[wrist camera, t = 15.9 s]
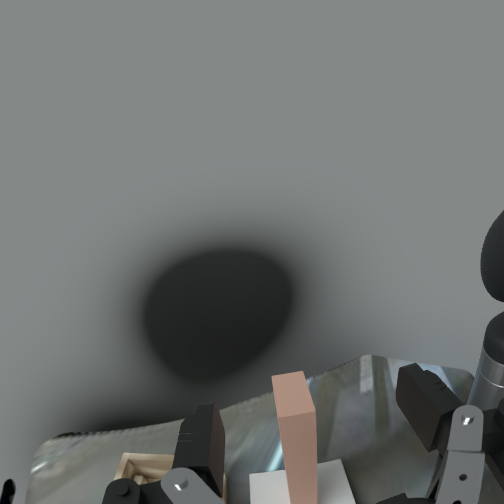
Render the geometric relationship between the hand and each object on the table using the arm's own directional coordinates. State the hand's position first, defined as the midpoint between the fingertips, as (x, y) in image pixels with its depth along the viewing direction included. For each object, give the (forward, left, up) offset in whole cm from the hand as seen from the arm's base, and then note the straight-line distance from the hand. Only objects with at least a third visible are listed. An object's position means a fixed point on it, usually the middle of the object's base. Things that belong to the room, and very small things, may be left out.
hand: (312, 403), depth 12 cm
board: (-10, -5, -28) cm, 31 cm away
